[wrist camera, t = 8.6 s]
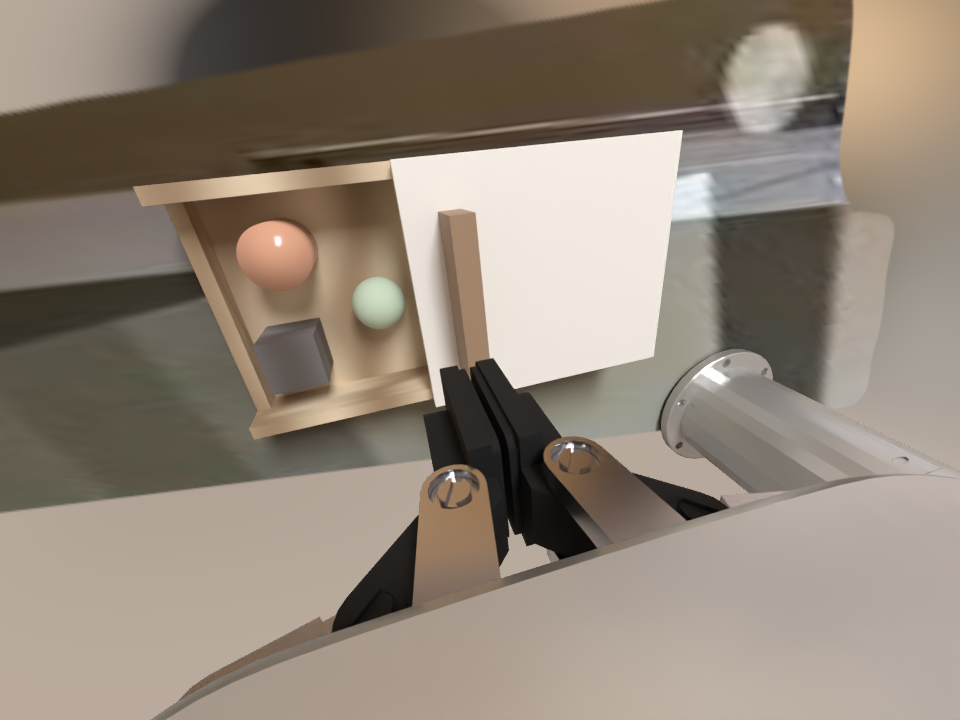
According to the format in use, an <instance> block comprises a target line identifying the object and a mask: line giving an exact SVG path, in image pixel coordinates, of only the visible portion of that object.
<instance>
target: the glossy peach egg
mask: <svg viewBox="0 0 960 720" xmlns="http://www.w3.org/2000/svg"><path fill="white" fill-rule="evenodd" d="M236 255H237V260H238V263H239V265H240V267H241V269H242V271H243V272H244V273H245V275H246V276H247V277H248V278H249V279H250V280H251V281H253V282H254V283H256V284H257V285H259V286H261V287H263V288H266V289H269V290H273V291H287V290H291V289H294V288H296V287H298V286H299V285H301V284H302V283H303V282H304V281H305V279H306V278H307V277H308V275H309V274H310V272H311V271H312V269H313V268H314V266H315V264H316V262H317V259H318V246H317V243H316V240H315V238H314V236H313V235H312V233H311V232H310V231H309V230H308V229H307V228H306V227H305V226H303V225H302V224H300V223H299V222H297V221H295V220H292V219H288V218H274V219H271V220H268V221H265V222H262V223H260V224H257V225H254V226H252V227H250V228H248V229H247V230H246V231H245V232H244V233H243V234H242V235H241V237H240V238H239V240H238V243H237V248H236Z"/></svg>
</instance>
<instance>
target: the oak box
mask: <svg viewBox="0 0 960 720" xmlns="http://www.w3.org/2000/svg"><path fill="white" fill-rule="evenodd" d="M133 188H134V190H135V192H136V194H137V196H138V198H139V200H140V203H141V205H142V207H143V206H153V205H163V204H164V205H165V207H166V209H167V212H168V214H169V216H170V218H171V221H172V223H173V225H174V227H175V229H176V232H177V234H178V236H179V238H180V240H181V243H182V245H183V247H184V249H185V251H186V254H187V256H188V258H189V260H190V262H191V265H192V267H193V269H194V271H195V273H196V276H197V278H198V280H199V282H200V285H201V287H202V289H203V291H204V293H205V296H206V298H207V300H208V302H209V304H210V307H211V309H212V311H213V313H214V315H215V318H216V320H217V322H218V324H219V326H220V329H221V331H222V333H223V335H224V337H225V340H226V342H227V344H228V346H229V349H230V351H231V353H232V355H233V357H234V360H235V362H236V364H237V366H238V368H239V371H240V373H241V375H242V377H243V379H244V382H245V384H246V386H247V388H248V390H249V393H250V395H251V397H252V399H253V401H254V404H255V406H256V408H257V410H258V412H257V414H256V416H255V418H254V420H253V422H252V424H251V426H250V428H249V430H250V432H251V434H252V436H253V438H254V439H259V438H263V437H268V436H272V435H276V434H281V433H285V432H289V431H294V430H298V429H303V428H307V427H311V426H316V425H320V424H324V423H329V422H333V421H338V420H342V419H346V418H351V417H355V416H359V415H364V414H368V413H373V412H377V411H381V410H386V409H390V408H395V407H399V406H403V405H408V404H412V403H416V402H421V401H425V400H430V399H434V398H433V393H432V387H431V382H430V377H429V371H428V366H427V361H426V355H425V350H424V344H423V339H422V334H421V328H420V323H419V318H418V312H417V307H416V302H415V296H414V291H413V285H412V280H411V275H410V269H409V264H408V259H407V253H406V248H405V243H404V237H403V232H402V226H401V221H400V216H399V210H398V205H397V200H396V194H395V189H394V184H393V178H392V173H391V167H390V162H389V161H383V162H373V163H364V164H354V165H344V166H334V167H324V168H314V169H304V170H294V171H285V172H275V173H265V174H255V175H245V176H235V177H225V178H215V179H205V180H196V181H186V182H176V183H166V184H156V185H146V186H136V187H133ZM274 218H288V219H292V220H295V221H297V222H299V223H300V224H302V225H303V226H305V227H306V228H307V229H308V230H309V231H310V232H311V233H312V235H313V236H314V238H315V240H316V243H317V246H318V259H317V262H316V264H315V266H314V268H313V269H312V271H311V272H310V274H309V275H308V277H307V278H306V279H305V281H304V282H303V283H302V284H301V285H299V286H298V287H296V288H294V289H291V290H287V291H273V290H269V289H266V288H263V287H261V286H259V285H257V284H256V283H254V282H253V281H251V280H250V279H249V278H248V277H247V276H246V275H245V273H244V272H243V271H242V269H241V267H240V265H239V263H238V260H237V255H236V248H237V243H238V240H239V238H240V237H241V235H242V234H243V233H244V232H245V231H246V230H247V229H248V228H250V227H252V226H254V225H257V224H260V223H262V222H265V221H268V220H271V219H274ZM372 277H384V278H387V279H390V280H392V281H393V282H395V283H396V284H397V285H398V286H399V287H400V288H401V290H402V292H403V294H404V296H405V302H406V307H405V311H404V314H403V316H402V318H401V319H400V320H399V322H398V323H396V324H395V325H393V326H392V327H389V328H386V329H374V328H370V327H368V326H366V325H364V324H363V323H362V322H361V321H359V319H358V318H357V317H356V315H355V313H354V311H353V307H352V297H353V293H354V291H355V289H356V287H357V286H358V285H359V284H360V283H361V282H363V281H364V280H366V279H368V278H372ZM319 317H320V320H321V323H322V326H323V329H324V332H325V336H326V339H327V342H328V345H329V348H330V351H331V355H332V358H333V361H334V362H333V367H332V372H331V377H330V382H329V383H328V384H323V385H319V386H314V387H309V388H304V389H300V390H295V391H290V392H285V393H280V394H276V395H273V394H272V392H271V389H270V387H269V384H268V382H267V380H266V377H265V375H264V373H263V370H262V368H261V365H260V363H259V361H258V358H257V356H256V353H255V351H254V349H253V345H254V343H255V342H256V341H257V339H258V338H259V336H260V335H261V334H262V332H263V331H264V329H265V328H266V327H267V326H273V325H279V324H284V323H290V322H296V321H302V320H307V319H313V318H319Z"/></svg>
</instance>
